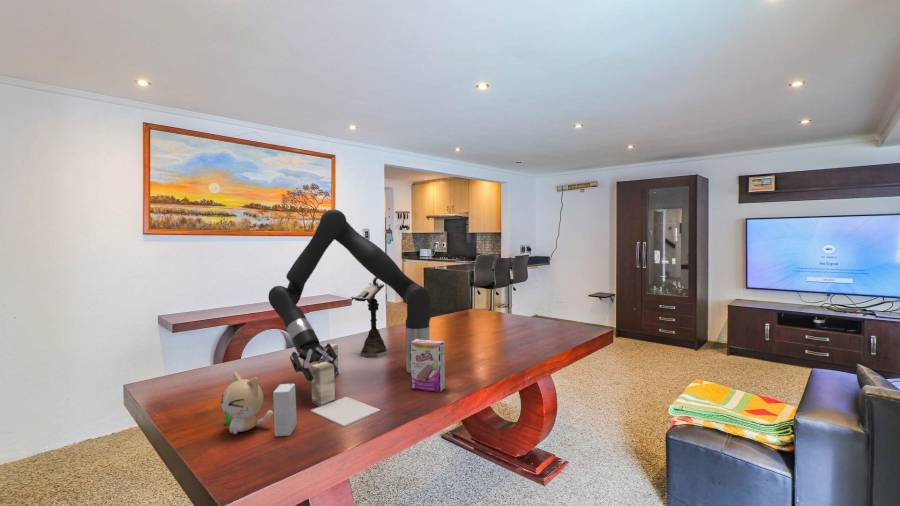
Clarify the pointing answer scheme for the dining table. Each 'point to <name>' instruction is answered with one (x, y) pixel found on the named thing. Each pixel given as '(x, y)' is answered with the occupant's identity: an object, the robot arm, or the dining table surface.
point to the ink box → (335, 348)
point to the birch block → (323, 383)
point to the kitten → (243, 404)
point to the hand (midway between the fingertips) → (323, 376)
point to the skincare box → (284, 409)
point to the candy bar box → (427, 365)
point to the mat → (345, 411)
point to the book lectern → (372, 321)
